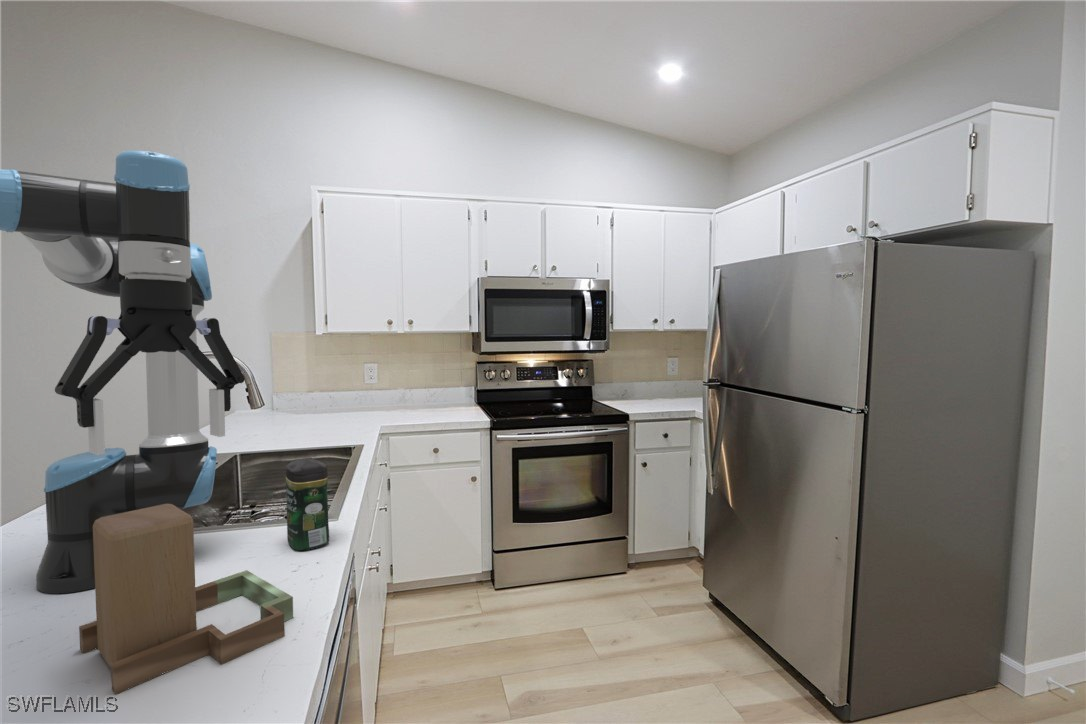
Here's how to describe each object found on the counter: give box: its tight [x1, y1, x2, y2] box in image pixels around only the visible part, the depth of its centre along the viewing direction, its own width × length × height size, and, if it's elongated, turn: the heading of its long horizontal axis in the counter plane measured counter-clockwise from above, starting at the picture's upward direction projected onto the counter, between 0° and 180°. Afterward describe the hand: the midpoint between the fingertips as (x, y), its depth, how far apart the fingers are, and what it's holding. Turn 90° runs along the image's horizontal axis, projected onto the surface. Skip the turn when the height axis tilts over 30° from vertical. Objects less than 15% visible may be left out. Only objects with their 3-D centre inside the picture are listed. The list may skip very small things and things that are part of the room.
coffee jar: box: [285, 457, 330, 551], centre depth 118 cm, size 10×8×19 cm
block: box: [93, 504, 198, 669], centre depth 78 cm, size 10×10×20 cm
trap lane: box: [78, 569, 294, 695], centre depth 83 cm, size 24×24×4 cm
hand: (162, 443), depth 70 cm, fingers open, 13 cm apart
